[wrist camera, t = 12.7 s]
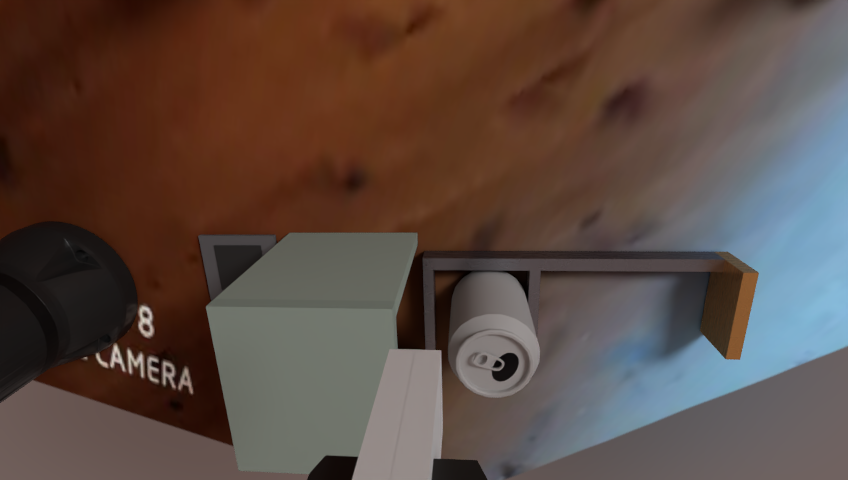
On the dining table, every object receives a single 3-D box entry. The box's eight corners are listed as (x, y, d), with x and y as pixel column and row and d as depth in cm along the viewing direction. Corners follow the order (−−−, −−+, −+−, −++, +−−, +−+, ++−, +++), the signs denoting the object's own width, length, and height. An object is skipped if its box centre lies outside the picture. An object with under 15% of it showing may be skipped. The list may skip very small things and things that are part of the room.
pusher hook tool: (427, 342, 50) (422, 370, 46) (424, 250, 47) (419, 270, 42) (709, 348, 48) (735, 378, 43) (727, 251, 44) (758, 272, 39)
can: (503, 342, 50) (513, 420, 38) (439, 312, 49) (430, 382, 38) (539, 284, 47) (561, 350, 36) (472, 252, 47) (474, 308, 36)
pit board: (223, 352, 53) (221, 354, 53) (200, 234, 49) (197, 236, 48) (292, 354, 53) (290, 356, 52) (275, 234, 48) (273, 236, 48)
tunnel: (305, 356, 52) (238, 470, 37) (289, 232, 48) (205, 306, 33) (421, 358, 51) (402, 478, 36) (417, 232, 47) (392, 309, 31)
